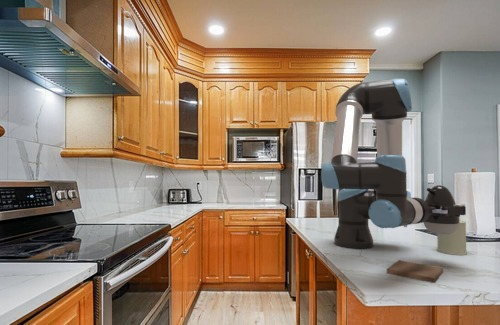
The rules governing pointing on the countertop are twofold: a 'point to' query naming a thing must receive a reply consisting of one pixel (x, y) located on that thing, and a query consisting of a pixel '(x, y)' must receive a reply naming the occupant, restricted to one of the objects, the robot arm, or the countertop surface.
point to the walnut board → (415, 271)
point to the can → (453, 241)
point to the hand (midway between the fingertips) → (445, 206)
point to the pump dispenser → (440, 223)
